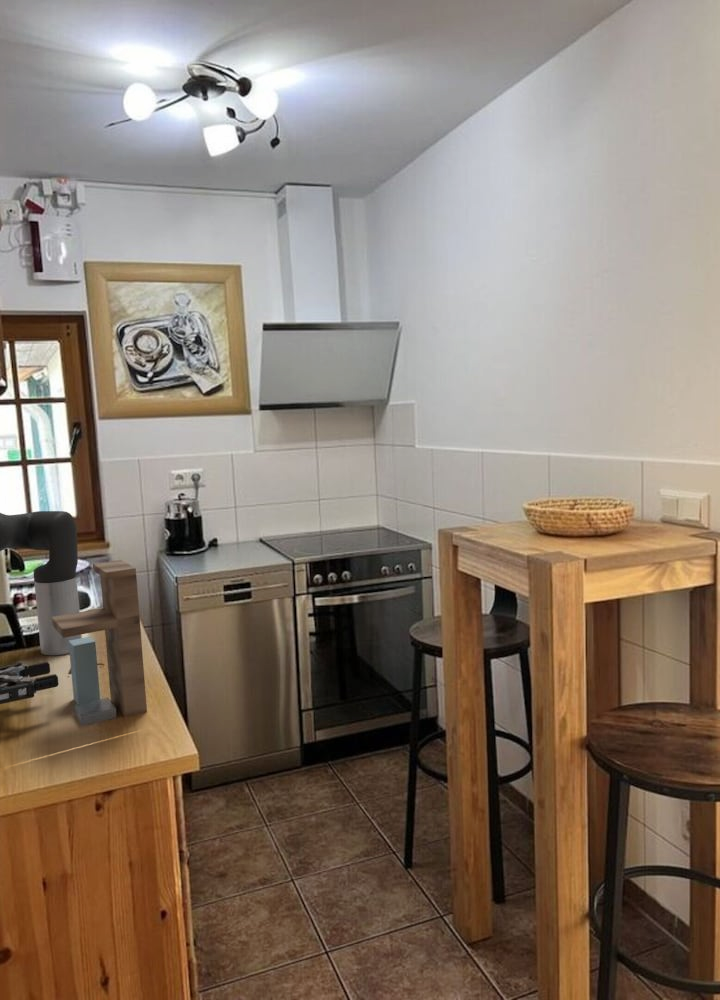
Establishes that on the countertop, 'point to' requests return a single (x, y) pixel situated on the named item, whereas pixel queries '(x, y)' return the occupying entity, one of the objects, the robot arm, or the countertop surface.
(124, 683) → the brown tall blocky piece
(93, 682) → the block
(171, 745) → the countertop surface
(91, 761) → the countertop surface
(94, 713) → the grey square block
